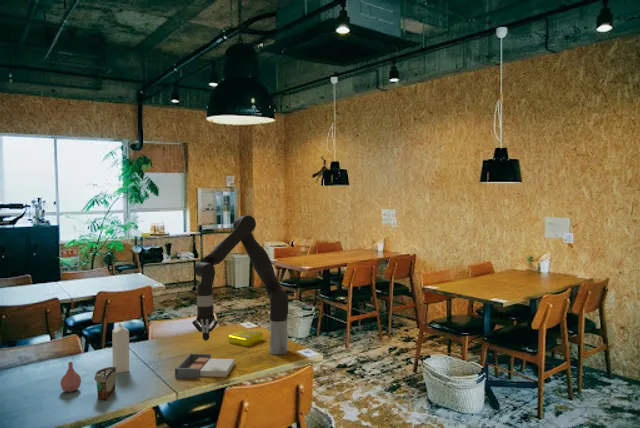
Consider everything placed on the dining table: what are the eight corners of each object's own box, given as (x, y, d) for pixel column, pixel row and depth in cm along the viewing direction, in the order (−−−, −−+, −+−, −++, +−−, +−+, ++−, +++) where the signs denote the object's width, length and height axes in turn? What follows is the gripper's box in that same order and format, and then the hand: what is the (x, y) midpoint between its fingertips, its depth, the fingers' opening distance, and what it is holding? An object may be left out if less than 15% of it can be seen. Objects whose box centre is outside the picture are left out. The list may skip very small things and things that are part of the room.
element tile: (264, 340, 269) (264, 332, 269) (247, 347, 256) (247, 338, 256) (244, 336, 277) (244, 328, 277) (226, 343, 264) (226, 334, 264)
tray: (210, 361, 233) (210, 353, 232) (197, 378, 212) (197, 369, 212) (189, 361, 233) (189, 353, 233) (175, 377, 212) (174, 368, 212)
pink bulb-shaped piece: (59, 396, 192) (59, 366, 192) (61, 389, 199) (60, 360, 199) (81, 392, 196) (80, 364, 195) (81, 385, 202) (81, 358, 202)
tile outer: (203, 369, 221) (203, 364, 220) (199, 373, 216) (199, 368, 215) (192, 369, 221) (192, 364, 221) (189, 373, 216) (189, 368, 216)
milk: (115, 373, 217) (115, 326, 216) (112, 369, 222) (111, 323, 221) (129, 370, 220) (128, 324, 219) (126, 367, 225) (125, 321, 224)
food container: (101, 389, 199) (101, 366, 198) (116, 389, 199) (116, 366, 199) (89, 402, 186) (89, 377, 186) (105, 402, 187) (105, 377, 186)
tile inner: (209, 363, 229) (209, 358, 229) (204, 366, 225) (204, 361, 224) (199, 362, 230) (199, 357, 230) (195, 366, 225) (195, 360, 225)
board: (234, 364, 230) (234, 359, 229) (226, 376, 214) (226, 371, 213) (210, 363, 230) (210, 358, 230) (200, 376, 214) (200, 370, 214)
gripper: (221, 302, 228) (221, 337, 229) (193, 302, 229) (194, 337, 229) (217, 306, 221) (217, 342, 221) (189, 306, 221) (189, 342, 222)
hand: (206, 340), depth 225 cm, fingers closed
